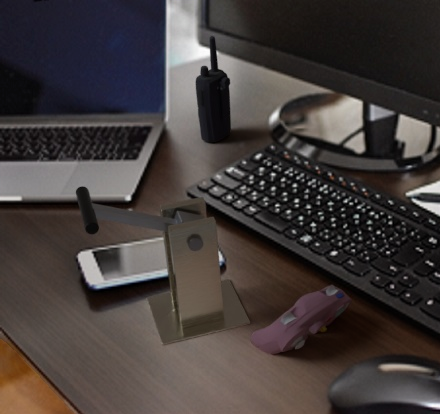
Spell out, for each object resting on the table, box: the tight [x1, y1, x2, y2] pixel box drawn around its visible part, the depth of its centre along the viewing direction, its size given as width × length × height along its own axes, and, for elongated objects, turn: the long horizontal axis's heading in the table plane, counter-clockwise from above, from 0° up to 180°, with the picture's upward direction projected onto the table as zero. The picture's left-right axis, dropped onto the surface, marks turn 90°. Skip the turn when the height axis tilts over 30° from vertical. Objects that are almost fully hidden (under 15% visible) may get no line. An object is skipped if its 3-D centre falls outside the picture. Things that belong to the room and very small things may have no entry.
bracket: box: [146, 196, 251, 346], centre depth 83 cm, size 9×8×13 cm
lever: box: [75, 185, 204, 235], centre depth 79 cm, size 12×7×2 cm, turn 111°
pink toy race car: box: [250, 284, 353, 355], centre depth 82 cm, size 10×5×7 cm, turn 136°
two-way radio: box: [195, 35, 232, 144], centre depth 119 cm, size 6×4×15 cm
